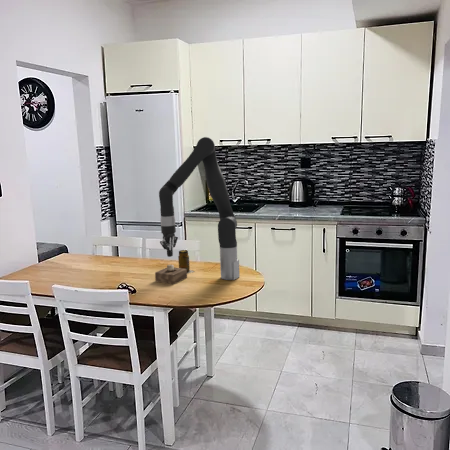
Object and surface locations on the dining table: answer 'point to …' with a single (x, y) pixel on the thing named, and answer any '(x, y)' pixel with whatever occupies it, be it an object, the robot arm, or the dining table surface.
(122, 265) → the dining table surface
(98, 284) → the dining table surface
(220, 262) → the robot arm
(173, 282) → the socket block
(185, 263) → the condiment
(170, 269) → the peg
